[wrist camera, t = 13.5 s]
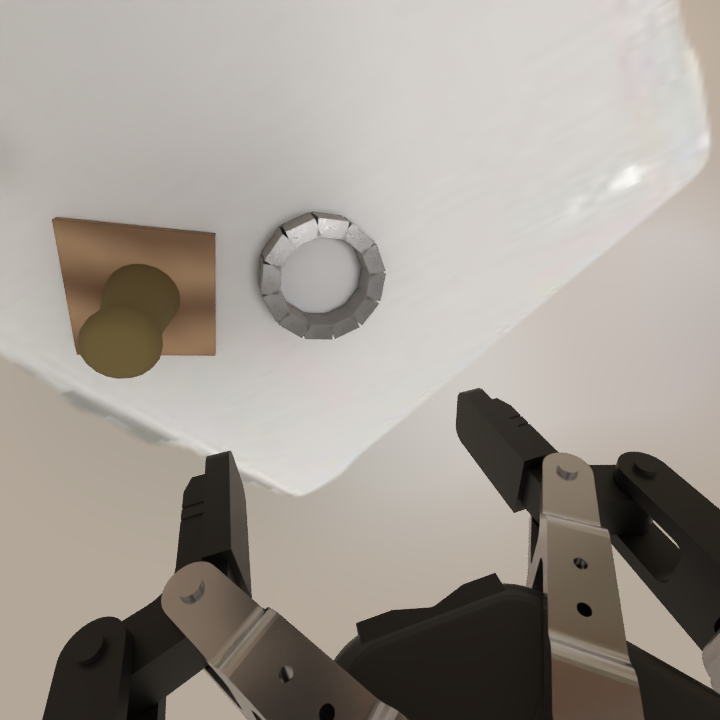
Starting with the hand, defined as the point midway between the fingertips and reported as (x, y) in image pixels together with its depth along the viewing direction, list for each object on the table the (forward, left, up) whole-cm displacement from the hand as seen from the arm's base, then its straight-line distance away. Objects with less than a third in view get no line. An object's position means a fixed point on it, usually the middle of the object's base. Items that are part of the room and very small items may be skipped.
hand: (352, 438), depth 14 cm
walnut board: (+6, -11, -29) cm, 31 cm away
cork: (+6, -11, -28) cm, 31 cm away
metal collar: (+3, +5, -29) cm, 30 cm away
